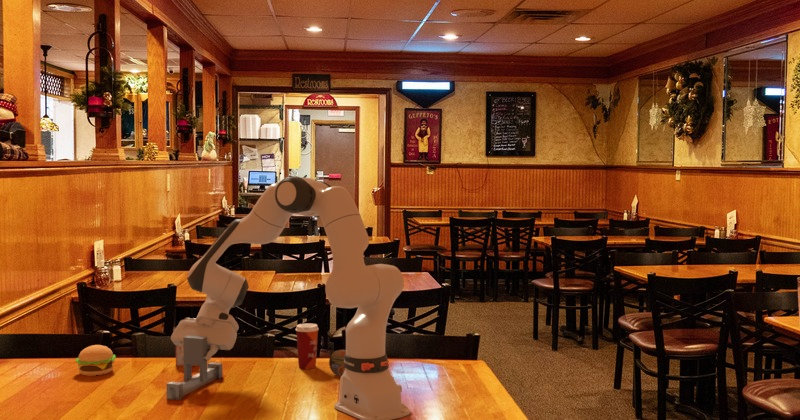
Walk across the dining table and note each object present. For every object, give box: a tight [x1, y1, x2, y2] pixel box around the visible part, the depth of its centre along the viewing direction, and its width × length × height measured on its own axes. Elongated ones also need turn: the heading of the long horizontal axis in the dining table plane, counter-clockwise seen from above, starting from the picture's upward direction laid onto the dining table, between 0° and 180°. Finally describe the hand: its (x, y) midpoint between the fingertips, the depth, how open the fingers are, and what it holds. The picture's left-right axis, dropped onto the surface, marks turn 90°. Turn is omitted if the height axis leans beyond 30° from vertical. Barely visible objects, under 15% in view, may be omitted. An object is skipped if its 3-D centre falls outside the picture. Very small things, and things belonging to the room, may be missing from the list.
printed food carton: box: [175, 345, 198, 367], centre depth 249 cm, size 4×7×10 cm, turn 88°
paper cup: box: [295, 322, 320, 370], centre depth 246 cm, size 8×8×14 cm
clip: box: [183, 335, 208, 382], centre depth 223 cm, size 6×3×13 cm, turn 73°
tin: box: [328, 349, 346, 378], centre depth 235 cm, size 15×3×8 cm, turn 62°
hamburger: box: [75, 344, 117, 377], centre depth 239 cm, size 12×12×9 cm
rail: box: [166, 361, 223, 401], centre depth 223 cm, size 24×4×4 cm, turn 163°
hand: (194, 358), depth 222 cm, fingers closed on clip, 6 cm apart
